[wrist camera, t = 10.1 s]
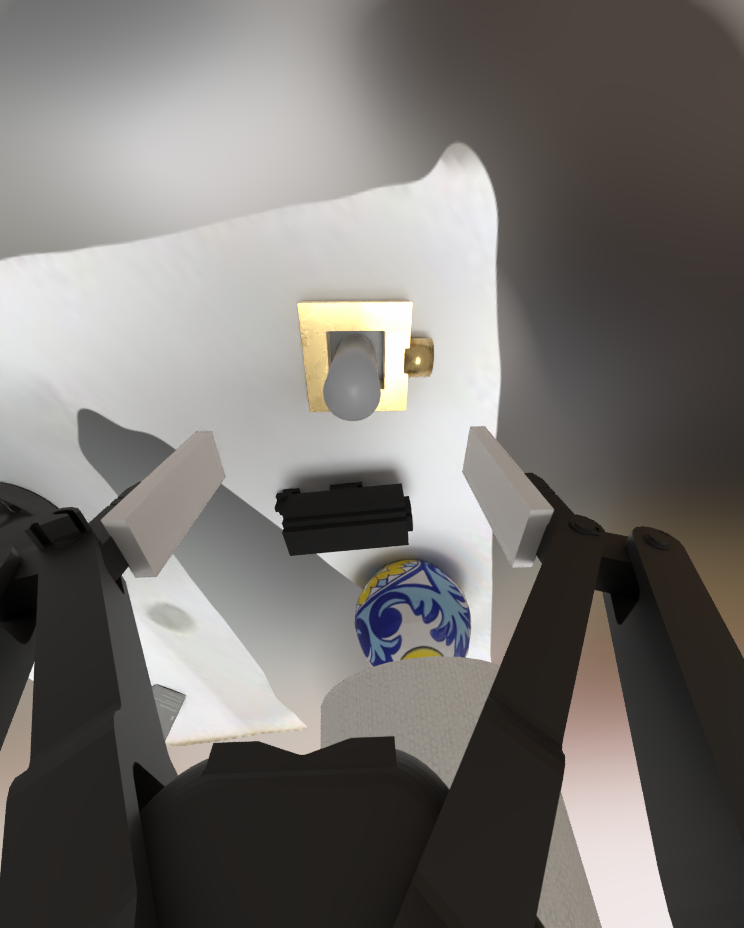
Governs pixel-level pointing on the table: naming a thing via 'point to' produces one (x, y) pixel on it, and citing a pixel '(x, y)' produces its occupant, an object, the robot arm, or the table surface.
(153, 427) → the table surface
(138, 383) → the table surface
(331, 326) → the gold square frame
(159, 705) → the skincare box
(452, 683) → the table lamp
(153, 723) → the robot arm
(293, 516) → the security camera
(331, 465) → the table surface
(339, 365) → the grey rounded cylinder
